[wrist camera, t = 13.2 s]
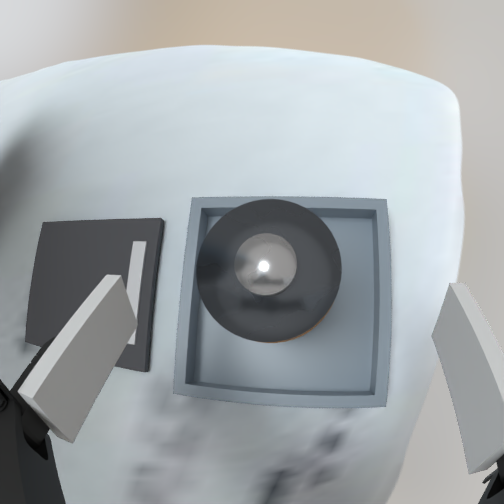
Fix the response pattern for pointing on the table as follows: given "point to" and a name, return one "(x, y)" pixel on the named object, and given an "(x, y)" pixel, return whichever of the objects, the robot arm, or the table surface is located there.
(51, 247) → the dark grey pad
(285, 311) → the battery cell
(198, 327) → the tray
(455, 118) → the table surface
